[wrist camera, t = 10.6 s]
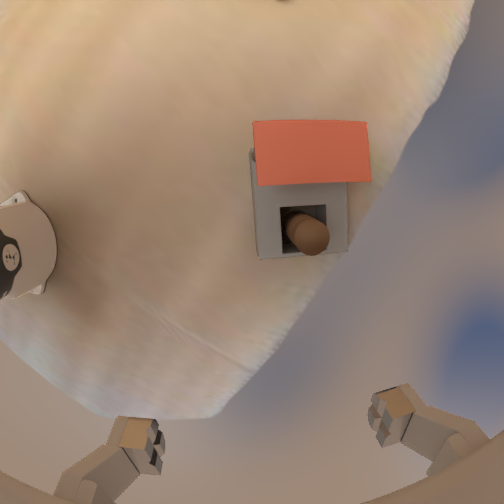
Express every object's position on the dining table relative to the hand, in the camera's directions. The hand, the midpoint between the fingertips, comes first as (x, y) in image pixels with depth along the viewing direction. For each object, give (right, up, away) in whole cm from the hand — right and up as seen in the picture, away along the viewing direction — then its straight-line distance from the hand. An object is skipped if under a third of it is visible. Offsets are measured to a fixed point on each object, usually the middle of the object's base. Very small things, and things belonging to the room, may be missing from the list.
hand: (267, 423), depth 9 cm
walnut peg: (+6, +10, +32) cm, 34 cm away
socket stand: (+6, +14, +31) cm, 34 cm away
